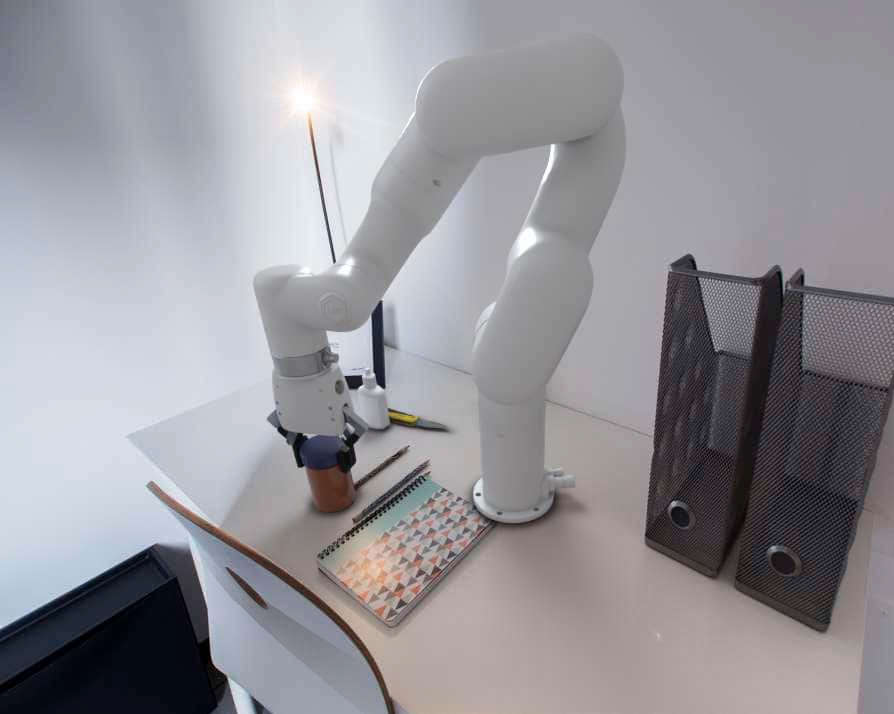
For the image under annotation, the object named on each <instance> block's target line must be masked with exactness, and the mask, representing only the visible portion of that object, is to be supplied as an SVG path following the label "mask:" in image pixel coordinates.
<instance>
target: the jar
mask: <svg viewBox="0 0 894 714" xmlns="http://www.w3.org/2000/svg"><path fill="white" fill-rule="evenodd" d="M303 468H304V469H305V474H306V477H307V481H308V486H309V490H310V494H311V497H312V501H313V504H314V507H315V509H317V510H318V511H320V512H323V513H324V512H325V513H335V512H340V511H342V510H344V509H346V508H348V507H349V506H350V505H352V504H353V502H355V499H356V497H357V493H356V489H355V483H354V479H353V475H352V468H351V469H350V470H349V472H348V473H347V474H344V473H343V472H342V471H341V466H340V463H338V464H336V465H334V466H331V467H328V468H323V469H313V468H309V467H307V466H305V465H304V467H303Z"/></svg>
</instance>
